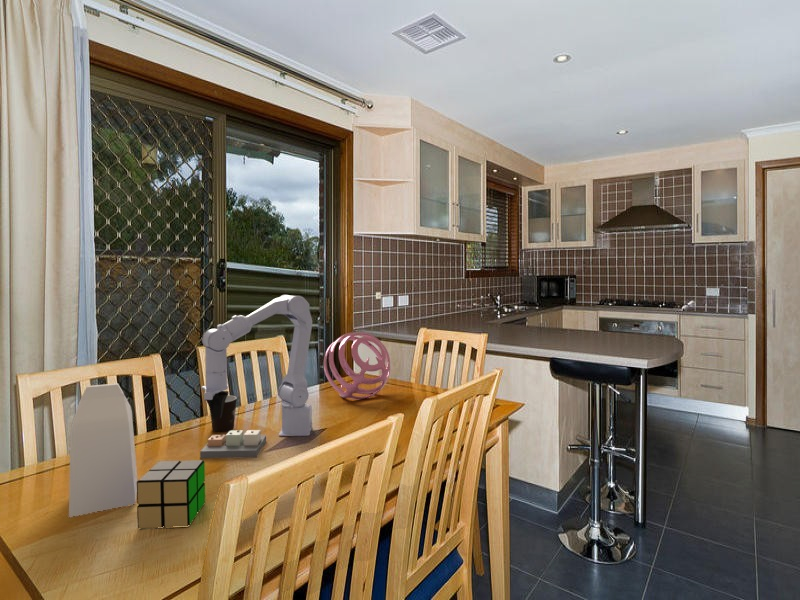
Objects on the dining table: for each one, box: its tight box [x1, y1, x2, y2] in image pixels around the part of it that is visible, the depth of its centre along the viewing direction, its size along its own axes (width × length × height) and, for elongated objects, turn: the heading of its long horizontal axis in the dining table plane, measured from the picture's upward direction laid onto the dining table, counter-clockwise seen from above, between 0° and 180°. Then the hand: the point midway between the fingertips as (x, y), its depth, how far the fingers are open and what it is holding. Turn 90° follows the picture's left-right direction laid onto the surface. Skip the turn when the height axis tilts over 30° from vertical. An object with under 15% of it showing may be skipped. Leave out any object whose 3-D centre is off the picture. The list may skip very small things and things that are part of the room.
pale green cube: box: [225, 429, 244, 446], centre depth 132 cm, size 4×4×4 cm
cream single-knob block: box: [243, 429, 262, 446], centre depth 133 cm, size 4×4×4 cm
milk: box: [68, 382, 138, 518], centre depth 102 cm, size 12×12×26 cm
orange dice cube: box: [207, 434, 226, 446], centre depth 132 cm, size 4×4×4 cm
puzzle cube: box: [136, 459, 206, 529], centre depth 96 cm, size 10×10×10 cm
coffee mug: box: [208, 394, 238, 433], centre depth 151 cm, size 12×9×10 cm
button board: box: [199, 434, 267, 459], centre depth 133 cm, size 15×12×2 cm
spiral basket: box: [323, 331, 391, 400], centre depth 191 cm, size 28×28×27 cm
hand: (217, 417), depth 132 cm, fingers closed
